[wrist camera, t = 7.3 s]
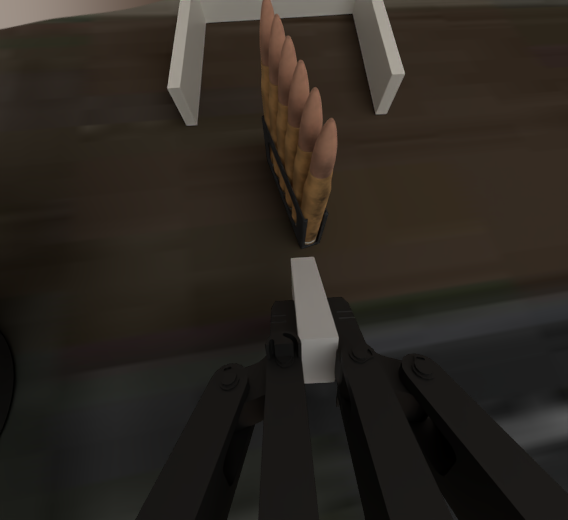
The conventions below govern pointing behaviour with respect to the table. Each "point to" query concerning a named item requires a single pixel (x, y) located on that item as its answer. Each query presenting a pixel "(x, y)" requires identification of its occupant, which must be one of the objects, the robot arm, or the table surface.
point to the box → (286, 3)
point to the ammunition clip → (295, 132)
